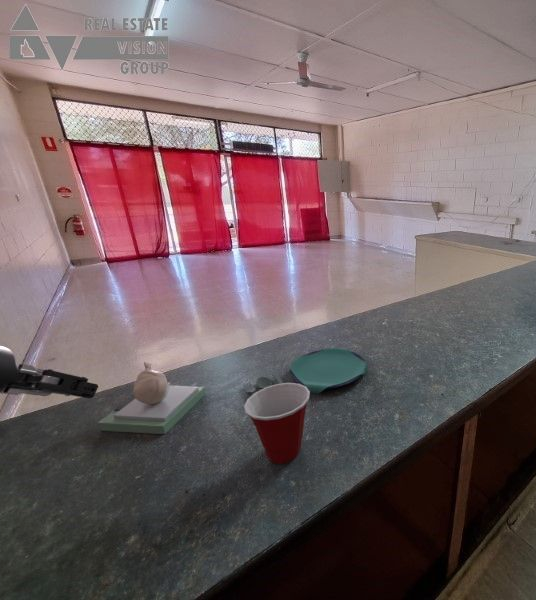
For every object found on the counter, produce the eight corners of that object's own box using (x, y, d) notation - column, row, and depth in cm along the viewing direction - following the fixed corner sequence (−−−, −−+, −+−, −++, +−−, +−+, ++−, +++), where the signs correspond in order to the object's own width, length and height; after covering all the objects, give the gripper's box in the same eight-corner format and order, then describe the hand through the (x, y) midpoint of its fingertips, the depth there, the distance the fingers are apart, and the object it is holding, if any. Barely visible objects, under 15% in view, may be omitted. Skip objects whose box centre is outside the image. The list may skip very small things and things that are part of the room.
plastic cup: (296, 422, 66) (292, 373, 62) (324, 452, 59) (321, 398, 55) (242, 449, 59) (234, 395, 55) (267, 487, 52) (258, 427, 48)
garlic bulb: (178, 390, 71) (171, 358, 68) (163, 408, 65) (155, 375, 62) (145, 392, 70) (137, 360, 67) (127, 411, 64) (117, 377, 61)
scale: (100, 430, 62) (96, 419, 61) (151, 391, 74) (148, 381, 74) (165, 434, 62) (162, 422, 61) (205, 394, 74) (203, 384, 73)
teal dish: (380, 376, 84) (381, 368, 83) (264, 424, 65) (263, 415, 65) (342, 348, 98) (342, 341, 97) (238, 380, 80) (237, 373, 79)
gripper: (16, 338, 38) (121, 369, 53) (-97, 332, 39) (38, 365, 53) (-23, 401, 35) (100, 416, 50) (-147, 395, 35) (12, 411, 50)
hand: (68, 390), depth 52 cm, fingers open, 8 cm apart
